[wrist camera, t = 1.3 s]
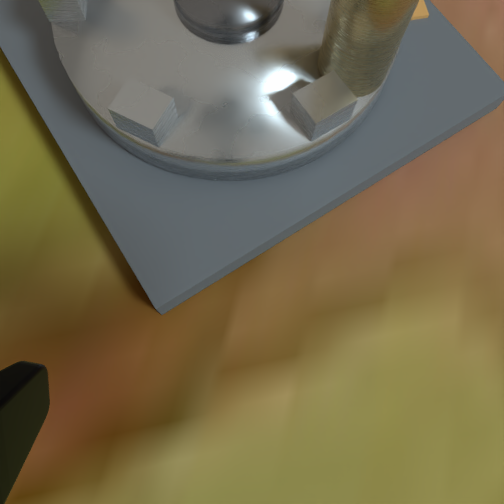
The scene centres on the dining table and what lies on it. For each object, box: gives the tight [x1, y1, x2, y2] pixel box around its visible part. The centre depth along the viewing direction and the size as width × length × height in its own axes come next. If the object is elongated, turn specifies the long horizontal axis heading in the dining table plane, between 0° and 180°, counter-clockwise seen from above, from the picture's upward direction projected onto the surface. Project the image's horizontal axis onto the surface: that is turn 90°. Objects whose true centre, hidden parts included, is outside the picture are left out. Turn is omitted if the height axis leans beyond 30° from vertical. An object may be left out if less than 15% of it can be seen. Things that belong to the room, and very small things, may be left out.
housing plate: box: [0, 0, 504, 315], centre depth 25 cm, size 20×20×2 cm
